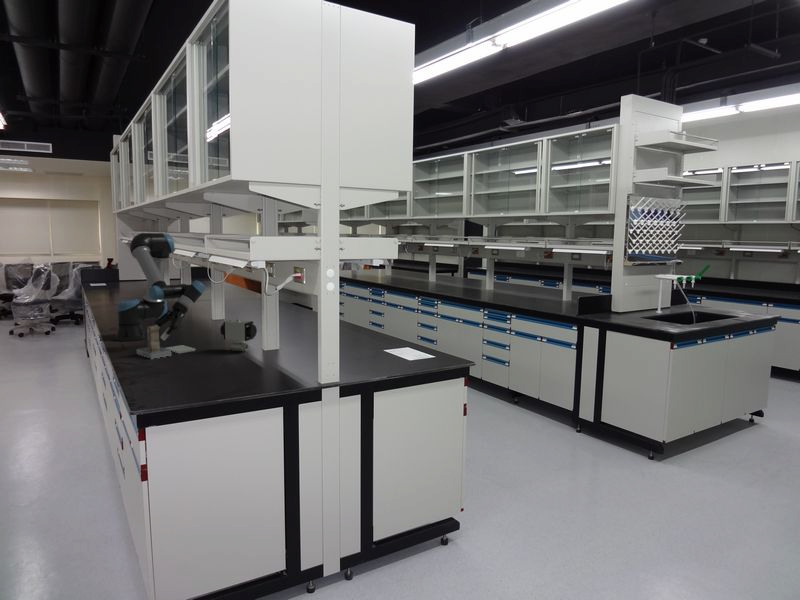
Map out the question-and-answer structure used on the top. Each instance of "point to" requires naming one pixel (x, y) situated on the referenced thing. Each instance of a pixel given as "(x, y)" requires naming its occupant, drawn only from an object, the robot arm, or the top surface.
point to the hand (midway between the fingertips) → (155, 337)
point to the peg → (153, 338)
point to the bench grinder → (238, 333)
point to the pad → (181, 349)
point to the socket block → (154, 353)
